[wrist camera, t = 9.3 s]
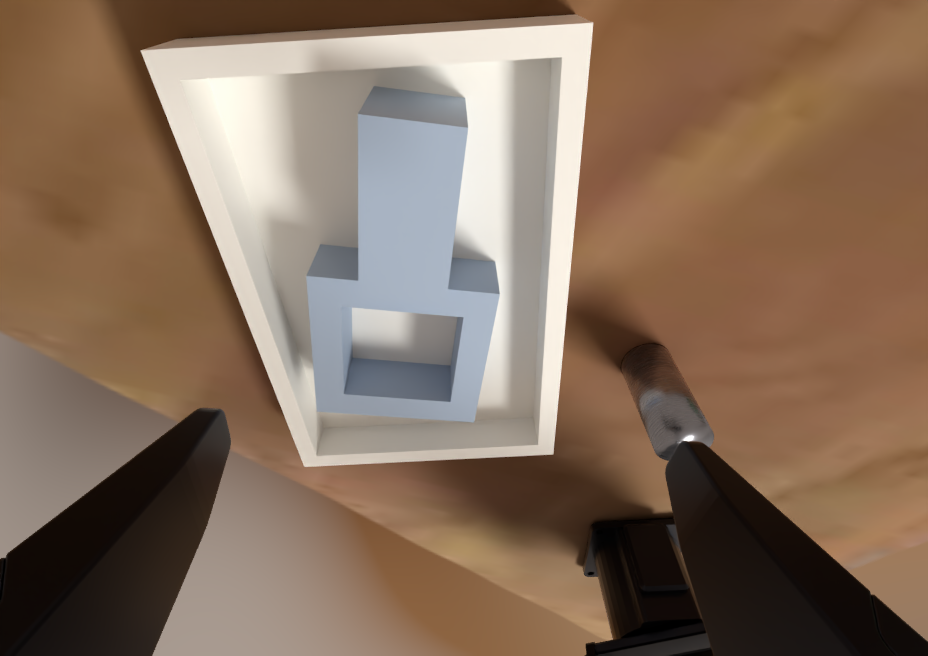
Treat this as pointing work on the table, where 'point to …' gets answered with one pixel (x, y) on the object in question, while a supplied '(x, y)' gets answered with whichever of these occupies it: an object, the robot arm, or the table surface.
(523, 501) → the table surface
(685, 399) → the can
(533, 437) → the tray
